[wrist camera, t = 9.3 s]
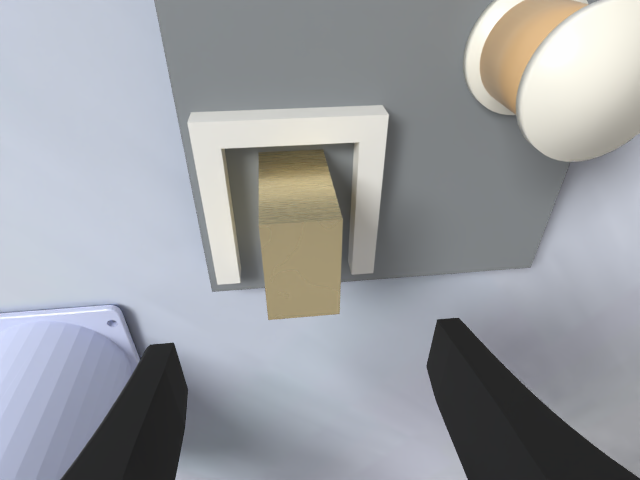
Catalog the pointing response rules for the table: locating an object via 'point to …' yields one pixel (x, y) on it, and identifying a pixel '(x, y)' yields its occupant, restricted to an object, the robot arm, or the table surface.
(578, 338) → the table surface
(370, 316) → the table surface
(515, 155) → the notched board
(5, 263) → the table surface
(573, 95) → the spool
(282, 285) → the brass tab
